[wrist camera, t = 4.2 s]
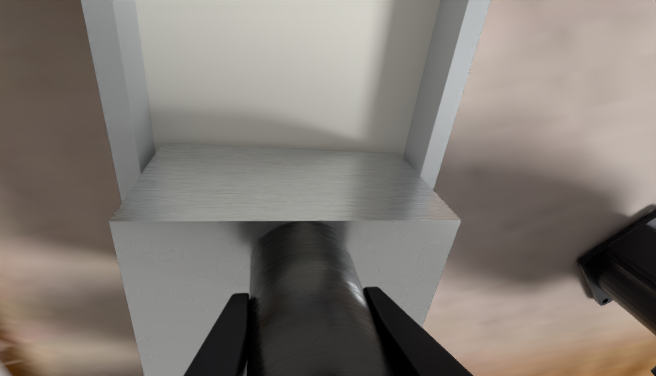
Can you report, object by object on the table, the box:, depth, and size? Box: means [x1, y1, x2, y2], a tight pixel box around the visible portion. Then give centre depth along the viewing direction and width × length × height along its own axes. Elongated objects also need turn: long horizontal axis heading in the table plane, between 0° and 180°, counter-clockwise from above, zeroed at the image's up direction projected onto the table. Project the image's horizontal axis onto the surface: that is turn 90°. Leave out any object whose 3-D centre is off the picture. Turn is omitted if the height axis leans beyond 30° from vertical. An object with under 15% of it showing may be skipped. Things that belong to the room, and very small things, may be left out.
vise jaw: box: [109, 143, 461, 376], centre depth 12 cm, size 8×10×10 cm
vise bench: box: [81, 0, 491, 203], centre depth 14 cm, size 33×13×8 cm, turn 173°
